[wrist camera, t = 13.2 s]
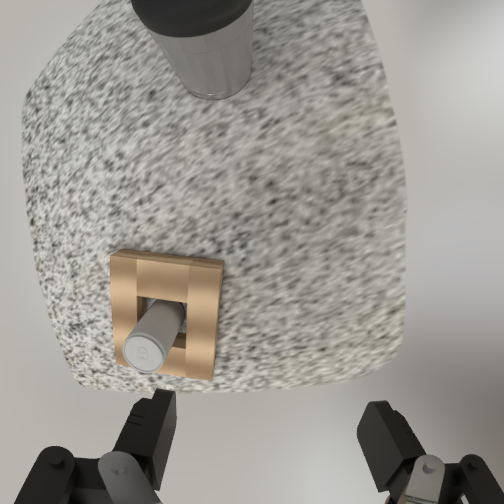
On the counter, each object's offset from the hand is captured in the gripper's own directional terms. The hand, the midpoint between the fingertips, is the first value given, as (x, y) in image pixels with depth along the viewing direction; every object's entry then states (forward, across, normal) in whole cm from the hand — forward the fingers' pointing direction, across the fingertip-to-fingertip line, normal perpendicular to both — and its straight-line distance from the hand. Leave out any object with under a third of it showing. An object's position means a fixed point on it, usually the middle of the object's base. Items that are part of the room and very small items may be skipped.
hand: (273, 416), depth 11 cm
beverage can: (+28, +11, +9) cm, 32 cm away
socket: (+28, +11, +9) cm, 31 cm away
